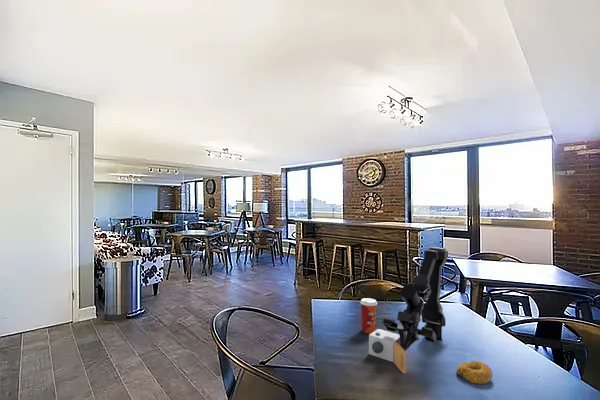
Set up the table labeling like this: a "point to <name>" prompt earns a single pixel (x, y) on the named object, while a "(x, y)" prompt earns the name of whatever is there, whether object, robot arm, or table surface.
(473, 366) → the bagel
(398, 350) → the side door
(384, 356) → the white block
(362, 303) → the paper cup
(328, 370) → the table surface
